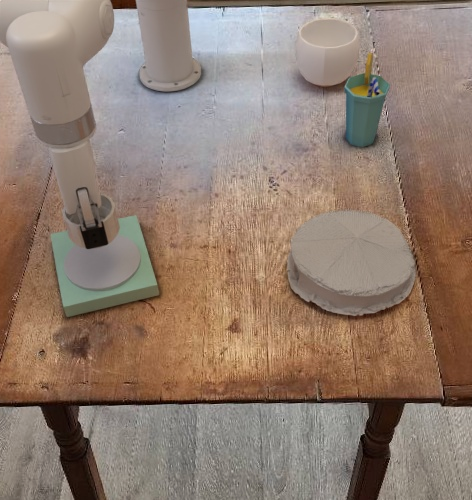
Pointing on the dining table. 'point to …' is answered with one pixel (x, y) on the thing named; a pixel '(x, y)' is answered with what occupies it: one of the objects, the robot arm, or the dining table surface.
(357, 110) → the cup
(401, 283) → the grey round cake
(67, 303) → the scale
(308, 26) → the cup
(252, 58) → the dining table surface
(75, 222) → the bowl
